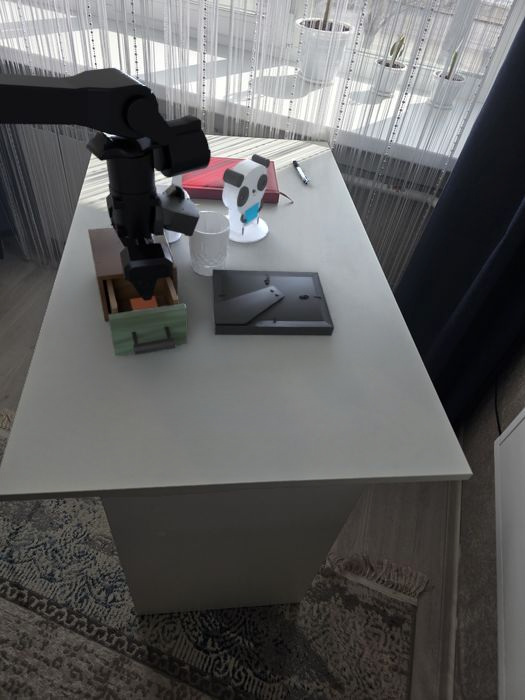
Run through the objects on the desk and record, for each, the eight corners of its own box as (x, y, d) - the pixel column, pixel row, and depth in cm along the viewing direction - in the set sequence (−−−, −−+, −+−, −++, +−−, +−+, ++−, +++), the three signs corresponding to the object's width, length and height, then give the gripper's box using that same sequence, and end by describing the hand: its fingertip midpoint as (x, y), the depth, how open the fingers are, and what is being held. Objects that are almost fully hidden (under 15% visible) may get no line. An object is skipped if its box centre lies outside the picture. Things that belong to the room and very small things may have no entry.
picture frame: (214, 334, 80) (331, 335, 83) (215, 322, 78) (335, 324, 81) (212, 278, 91) (315, 280, 94) (212, 266, 89) (318, 269, 92)
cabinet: (178, 311, 83) (177, 267, 77) (104, 321, 80) (96, 276, 73) (162, 266, 92) (160, 223, 85) (96, 273, 88) (87, 229, 81)
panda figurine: (247, 250, 99) (253, 183, 88) (205, 229, 103) (206, 163, 92) (277, 227, 106) (287, 163, 96) (237, 209, 110) (242, 145, 99)
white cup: (203, 283, 90) (204, 238, 82) (180, 262, 93) (179, 217, 86) (235, 270, 94) (239, 226, 86) (212, 250, 97) (214, 207, 90)
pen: (310, 185, 122) (311, 181, 121) (304, 185, 122) (305, 181, 121) (296, 161, 131) (297, 157, 131) (290, 161, 131) (291, 157, 130)
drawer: (193, 362, 74) (193, 327, 69) (119, 376, 71) (113, 340, 65) (170, 296, 85) (169, 260, 79) (105, 304, 81) (99, 268, 76)
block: (136, 333, 76) (133, 315, 73) (132, 317, 78) (129, 298, 75) (160, 329, 77) (159, 311, 74) (156, 313, 79) (154, 295, 77)
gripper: (212, 216, 57) (209, 312, 68) (178, 149, 68) (180, 240, 80) (118, 225, 53) (131, 324, 64) (99, 153, 65) (112, 247, 76)
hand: (142, 280), depth 71 cm, fingers open, 9 cm apart
